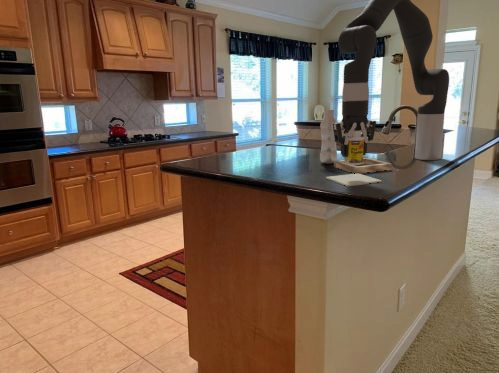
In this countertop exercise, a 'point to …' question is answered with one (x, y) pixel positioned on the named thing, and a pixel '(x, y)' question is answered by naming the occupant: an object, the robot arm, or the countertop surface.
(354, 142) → the supplement bottle
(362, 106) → the robot arm
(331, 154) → the plastic bottle
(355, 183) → the white square pad
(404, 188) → the countertop surface
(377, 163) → the beech cradle
